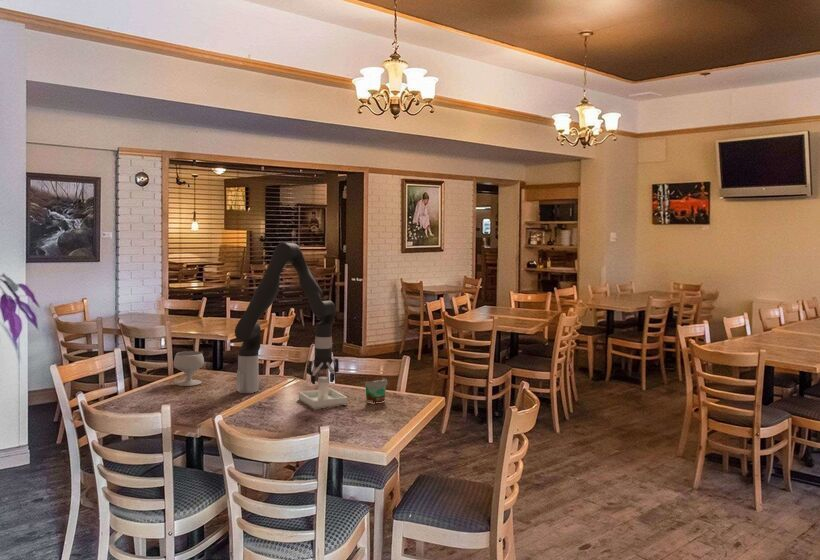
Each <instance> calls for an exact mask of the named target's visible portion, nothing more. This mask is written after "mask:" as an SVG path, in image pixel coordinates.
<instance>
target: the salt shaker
mask: <svg viewBox="0 0 820 560" xmlns="http://www.w3.org/2000/svg"><path fill="white" fill-rule="evenodd" d="M329 382H330V377H328V376H319V377H318V378H317V390H318V400H326V399H328V389H329Z"/></svg>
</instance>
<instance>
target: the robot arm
mask: <svg viewBox="0 0 820 560" xmlns="http://www.w3.org/2000/svg"><path fill="white" fill-rule="evenodd" d="M287 264H290V265H291V266H292V267H293V268H294V270H295V271H296V273H297V275H298V276H297V277H298V281H299V286H300V288H301V290H302V291H303V293H304V295H305V297H306V298H307V300H308V303H309V306H310V309H311V312H312V314H313V315H314V316H315V317H317V318H319V319H320V321H319V322H317V323H316V324H315V339H314V359H313V360H310V359H308V360H307V362H306V374H307V375H310V382H311V384H312V385H316V374H317V373H318V372H319V370H320V371H322V370H328V371H329V372H330V373H329V382H330V383H334V382H335V374H336V373H338V372H340V370H339V368H340V367H339V365H340V364H339V363H340V362H339V358H336V357H334V358H332V357H333V355H332V354H333V337H332V336H333V335H332V333H333V331H332V329H333V328H332V327H333V324H334V321H335V318H336V317H335V316H336V313H337V309H336V306H335V305H336V304H335V303H334V302H333V301H332V300H322V297H323V290H322V288H321V287H320V285H319V284H318V282H317V280H316V279H315V277H314V275H313V274H312V272H311V269H310V267H309V266H308V263H307V261H306V259H305V256H304V254H303V252H302V250H301V248H300V246H299V245H298V244H297V243H293V242H279V243H278V244H277V245H276V247H275V248H274V250H273V253H272V255H271V257H270V260H269V263H268V266H267V268H266V270H265V272H264V274H263V276H262V278H261V280H260V282H259V283H258V286H257V287H256V290H255V292H254V293H253V296H252V298H251V300H250V302H249V304H248V306H247V308H246V309H245V312H244V313H243V315H242V316H241V318H240V319H239V321H238V322H237V324H236V325H235V328H234V336H235V338H236V340H238V341H240V342H242V344H241V345H240V347H239V348H238V350H237V370H236V391H237V392H238V393H239V394H254V392H255V393H257V391H258V392H259V361H260V360H259V358H260V357H259V352H260V348H261V342H262V341H261V339H262V329H261V326H260V324H259V322H258V320H259V319H260V317H261V316H262V315H263V314H264V313H265V312H266V311H267V310H268V309H269V308H270V306H272V304H273V303H274V301H275V300H276V298H277V295H278V293H279V291H280V285H281V284H280V278H281V277H280V276H281V274H282V271H283V269H284V267H285V265H287ZM331 364H333V367H332V365H331ZM313 365H314V366H313ZM312 366H313V367H312Z"/></svg>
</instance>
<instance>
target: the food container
mask: <svg viewBox="0 0 820 560" xmlns="http://www.w3.org/2000/svg"><path fill="white" fill-rule="evenodd" d="M388 385H389V384H388V380H387V378H386V377H383V376H382V377H381V379H377V380H375V379H374V380H372V381H365V382H364V387H365V397H366V399H365V400H366V403H367V402H373V403H374V402H375V403H376V402H382V401H384V400H385V398H386V389H387V386H388ZM384 402H385V401H384Z"/></svg>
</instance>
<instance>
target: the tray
mask: <svg viewBox="0 0 820 560" xmlns="http://www.w3.org/2000/svg"><path fill="white" fill-rule="evenodd" d="M348 398H349V397H348V396H346V395H345V394H342V393H340V392H339V391H337V390H335V389H333V388H328V399H326V400H318V389H316V390H306V391H301V392H300V391H299V392H298V401H300V402H302V404H305V405H306V406H308V407H309V408H310V409H312V410H321V408H323V409H327V408H326V407H330V408H333V407H332V406H338V405H344V404H348V403H349V402H348ZM348 405H349V404H348ZM338 407H339V406H338Z"/></svg>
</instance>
